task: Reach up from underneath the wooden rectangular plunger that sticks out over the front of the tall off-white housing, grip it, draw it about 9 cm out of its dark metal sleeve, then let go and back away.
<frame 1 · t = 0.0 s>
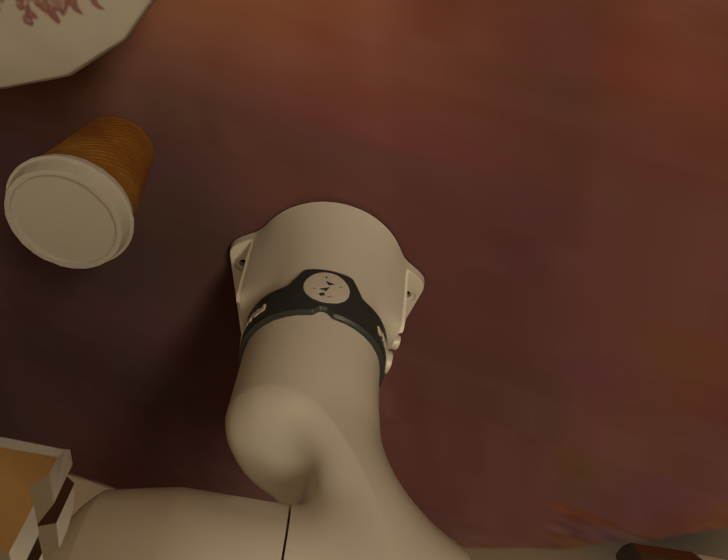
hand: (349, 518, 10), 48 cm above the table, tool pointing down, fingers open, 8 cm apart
disposable coffee cup: (119, 147, 61), on the table
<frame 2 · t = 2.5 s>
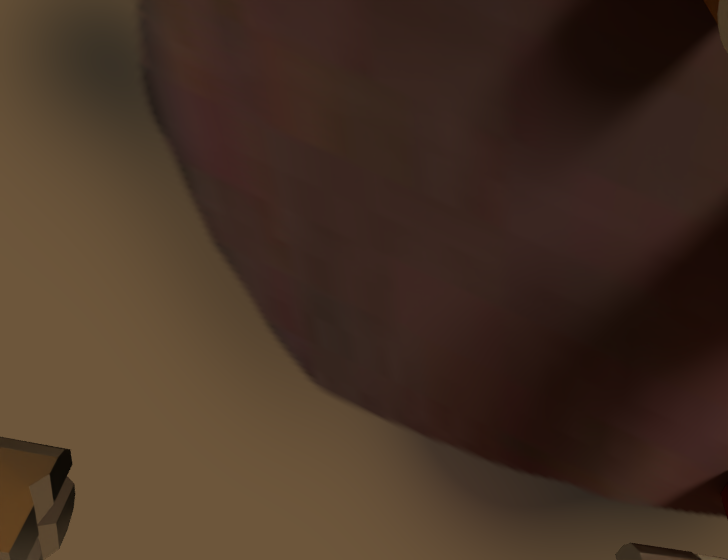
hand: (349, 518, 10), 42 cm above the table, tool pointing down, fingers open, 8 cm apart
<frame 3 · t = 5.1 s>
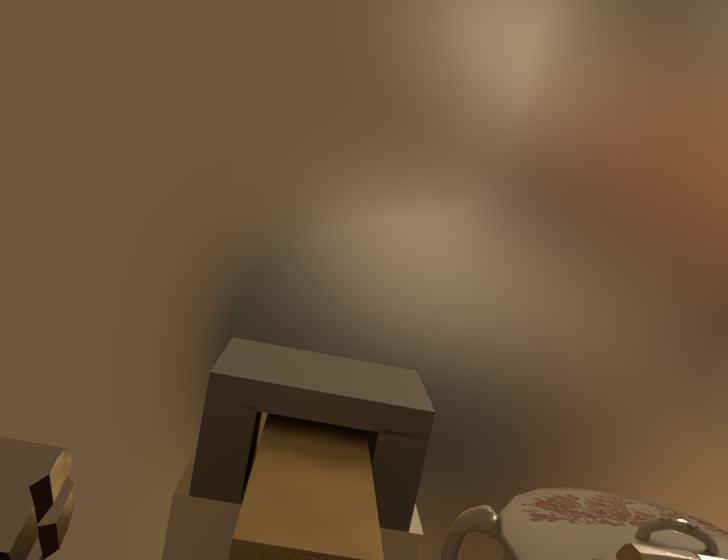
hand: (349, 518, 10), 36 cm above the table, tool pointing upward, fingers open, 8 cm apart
wooden rectangular plunger: (309, 456, 29), point 30 cm above the table, slide at 0.0 cm
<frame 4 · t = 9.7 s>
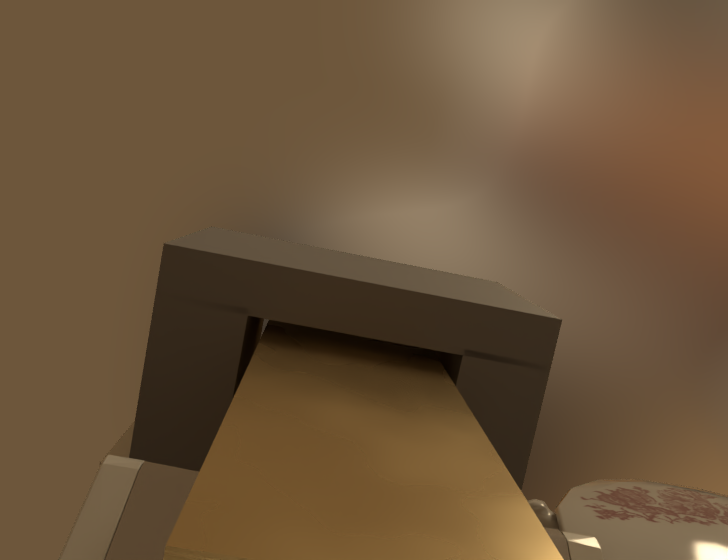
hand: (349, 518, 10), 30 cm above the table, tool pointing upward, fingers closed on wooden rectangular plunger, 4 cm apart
wooden rectangular plunger: (337, 403, 17), point 30 cm above the table, slide at 0.0 cm, touching gripper
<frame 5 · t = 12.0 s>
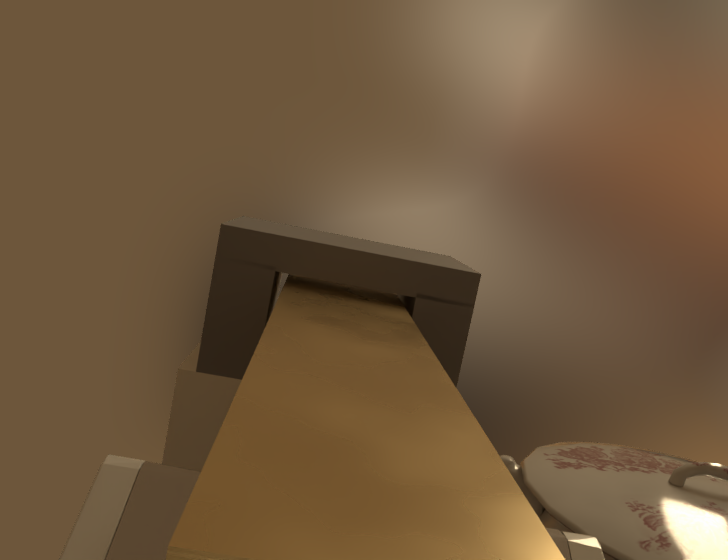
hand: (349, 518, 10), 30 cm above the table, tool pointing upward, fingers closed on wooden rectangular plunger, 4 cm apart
wooden rectangular plunger: (337, 403, 17), point 30 cm above the table, slide at 8.1 cm, touching gripper
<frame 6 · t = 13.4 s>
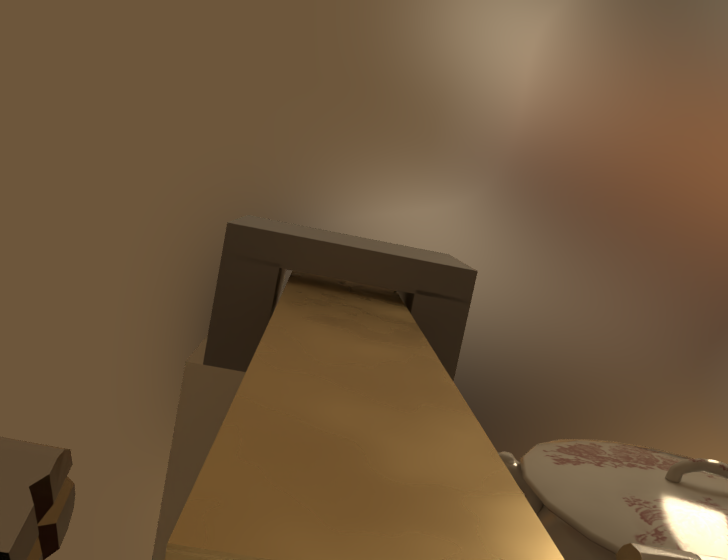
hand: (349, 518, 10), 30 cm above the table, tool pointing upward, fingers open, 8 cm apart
wooden rectangular plunger: (338, 403, 17), point 30 cm above the table, slide at 9.0 cm
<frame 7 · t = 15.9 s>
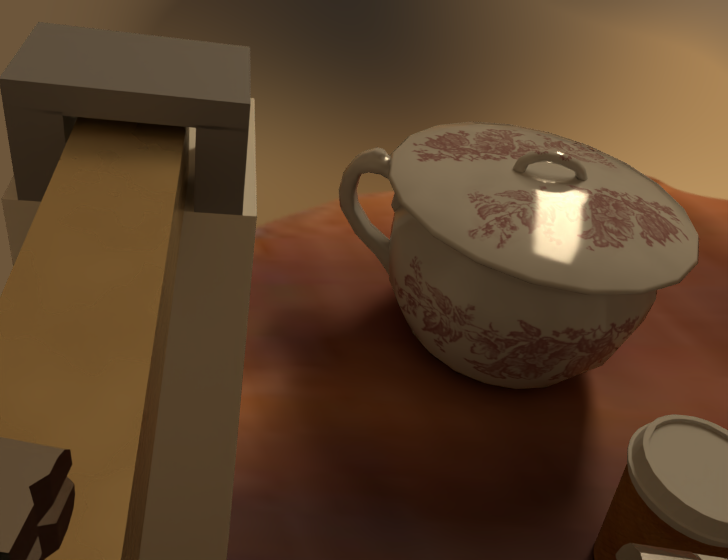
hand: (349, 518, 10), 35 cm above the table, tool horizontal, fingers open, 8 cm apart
chamber pot: (487, 333, 71), on the table
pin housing: (157, 491, 50), on the table
wooden rectangular plunger: (101, 288, 22), point 30 cm above the table, slide at 9.0 cm
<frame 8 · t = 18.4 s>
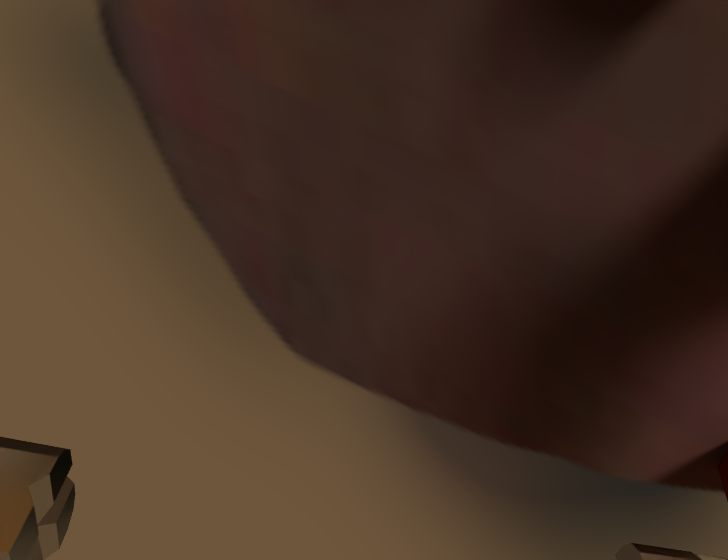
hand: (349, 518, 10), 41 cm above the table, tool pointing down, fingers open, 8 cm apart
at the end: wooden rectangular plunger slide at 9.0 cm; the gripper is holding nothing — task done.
